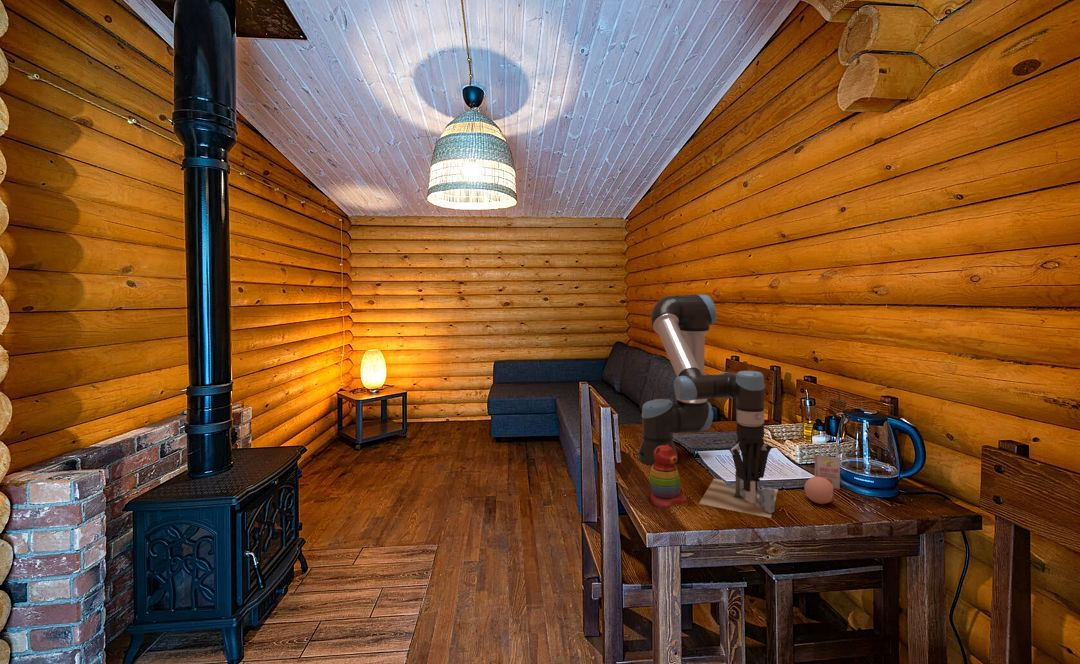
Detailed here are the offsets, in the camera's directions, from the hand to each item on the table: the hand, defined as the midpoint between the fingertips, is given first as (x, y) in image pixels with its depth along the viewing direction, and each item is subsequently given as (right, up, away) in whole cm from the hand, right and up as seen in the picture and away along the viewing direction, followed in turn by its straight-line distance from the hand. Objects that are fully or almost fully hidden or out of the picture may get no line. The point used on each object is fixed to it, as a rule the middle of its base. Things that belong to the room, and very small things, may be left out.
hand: (750, 501), depth 139 cm
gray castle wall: (+2, -1, +1) cm, 3 cm away
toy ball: (+22, -2, +3) cm, 23 cm away
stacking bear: (-23, -3, +8) cm, 25 cm away
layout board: (0, -2, +8) cm, 8 cm away
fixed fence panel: (+2, -1, +13) cm, 13 cm away
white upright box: (+32, -1, +15) cm, 35 cm away
